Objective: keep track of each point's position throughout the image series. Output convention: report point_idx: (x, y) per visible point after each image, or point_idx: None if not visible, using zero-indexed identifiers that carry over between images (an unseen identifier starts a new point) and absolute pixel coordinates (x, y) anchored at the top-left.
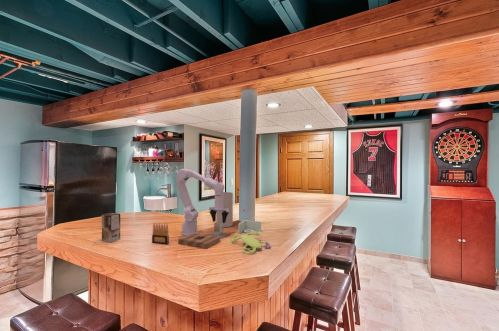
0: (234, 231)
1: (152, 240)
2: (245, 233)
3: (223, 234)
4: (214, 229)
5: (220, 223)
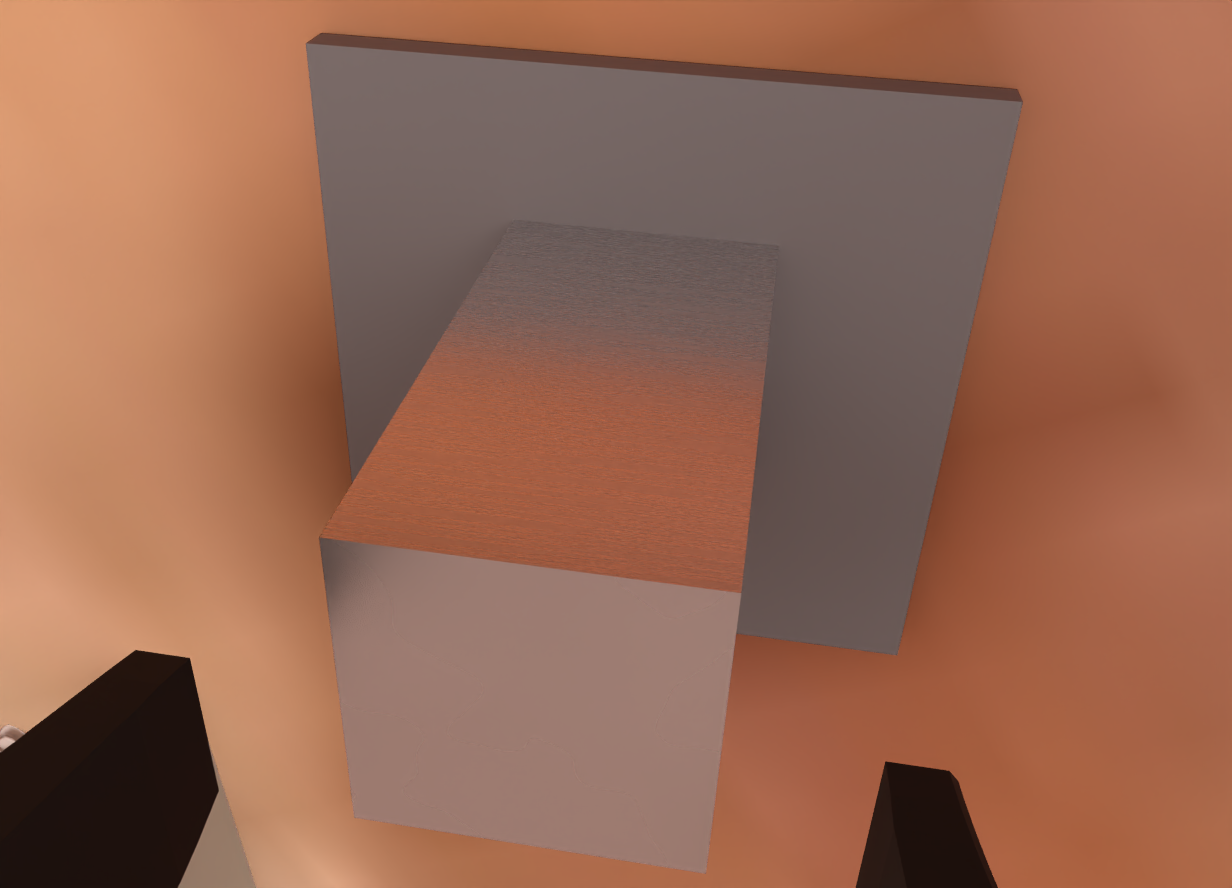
0: (443, 847)
1: None
2: None
3: None
4: (750, 366)
5: (336, 623)
